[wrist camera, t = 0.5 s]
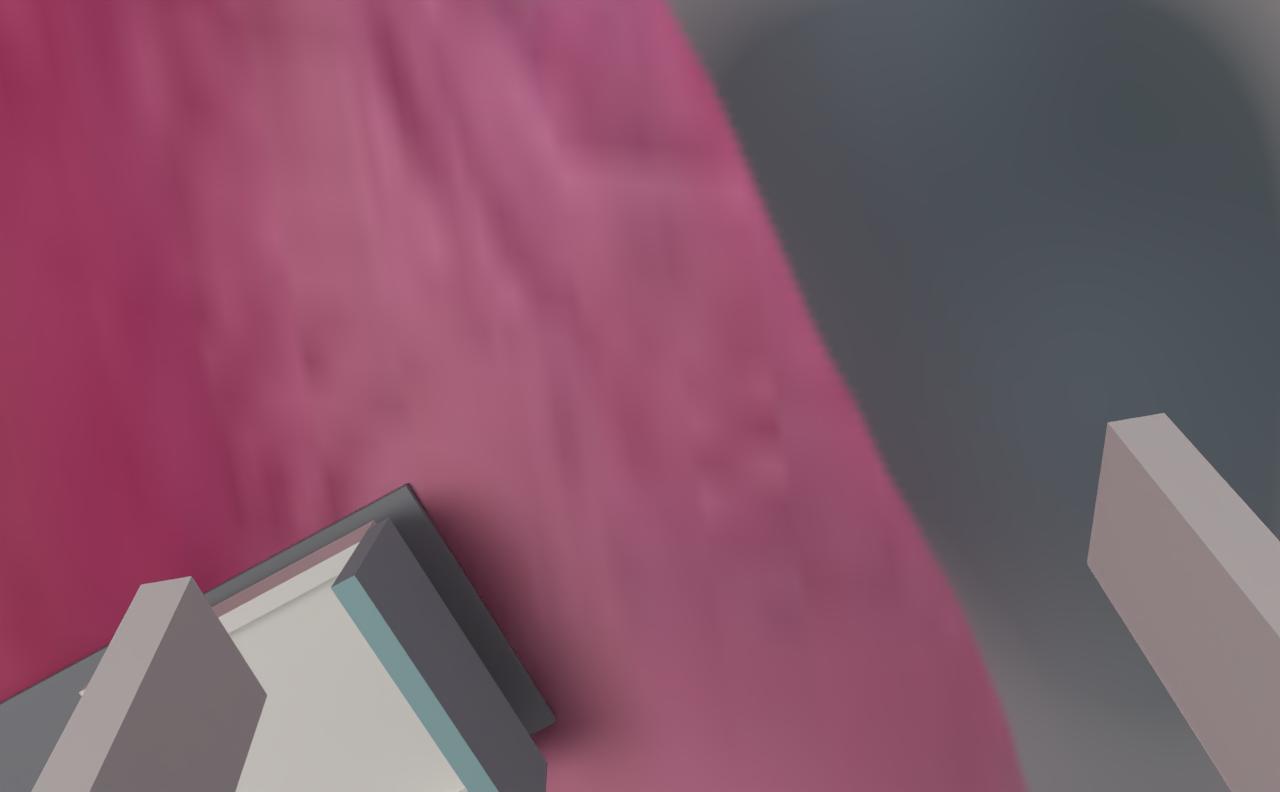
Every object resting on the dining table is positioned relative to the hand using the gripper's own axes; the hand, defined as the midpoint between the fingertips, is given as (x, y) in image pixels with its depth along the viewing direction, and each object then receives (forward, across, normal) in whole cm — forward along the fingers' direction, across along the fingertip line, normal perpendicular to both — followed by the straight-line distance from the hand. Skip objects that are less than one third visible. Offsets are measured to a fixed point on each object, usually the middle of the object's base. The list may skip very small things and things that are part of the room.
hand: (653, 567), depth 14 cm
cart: (+20, +18, +24) cm, 36 cm away
